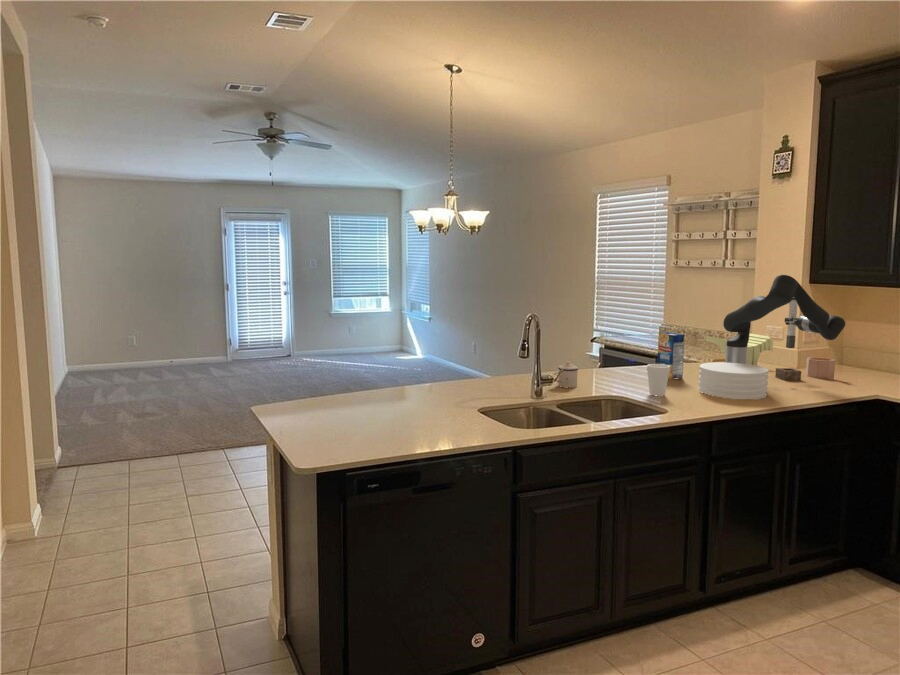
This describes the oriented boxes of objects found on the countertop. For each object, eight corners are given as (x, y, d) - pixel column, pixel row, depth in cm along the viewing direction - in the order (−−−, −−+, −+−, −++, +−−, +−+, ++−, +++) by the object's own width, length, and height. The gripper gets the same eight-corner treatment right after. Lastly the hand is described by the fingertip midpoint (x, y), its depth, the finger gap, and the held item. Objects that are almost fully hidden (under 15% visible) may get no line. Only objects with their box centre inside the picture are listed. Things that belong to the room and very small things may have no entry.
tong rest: (784, 383, 303) (784, 371, 302) (775, 380, 311) (775, 368, 310) (800, 383, 303) (801, 371, 302) (791, 380, 311) (791, 368, 310)
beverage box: (671, 379, 312) (673, 335, 309) (656, 375, 322) (658, 332, 319) (682, 378, 314) (684, 334, 311) (667, 374, 324) (669, 332, 322)
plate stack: (760, 388, 292) (762, 364, 291) (772, 402, 266) (774, 375, 264) (695, 385, 300) (697, 361, 299) (701, 397, 273) (702, 371, 272)
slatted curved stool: (725, 373, 329) (727, 339, 327) (704, 368, 344) (706, 335, 342) (771, 370, 338) (773, 337, 336) (748, 365, 353) (750, 333, 351)
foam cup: (665, 398, 271) (666, 368, 270) (643, 395, 276) (645, 366, 274) (670, 394, 279) (672, 365, 278) (649, 391, 284) (650, 363, 282)
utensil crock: (808, 380, 311) (810, 360, 310) (804, 376, 322) (806, 356, 320) (835, 381, 307) (836, 361, 306) (830, 377, 318) (831, 357, 316)
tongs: (785, 347, 306) (789, 297, 303) (791, 347, 306) (794, 297, 303) (789, 348, 303) (793, 298, 300) (794, 348, 303) (798, 298, 300)
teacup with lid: (570, 383, 301) (571, 359, 299) (581, 387, 293) (582, 362, 291) (548, 385, 296) (549, 361, 295) (559, 389, 288) (559, 364, 287)
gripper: (794, 331, 289) (774, 327, 306) (824, 331, 290) (802, 327, 307) (795, 315, 288) (775, 312, 305) (825, 315, 289) (803, 312, 306)
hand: (788, 319), depth 306 cm, fingers closed on tongs, 2 cm apart
